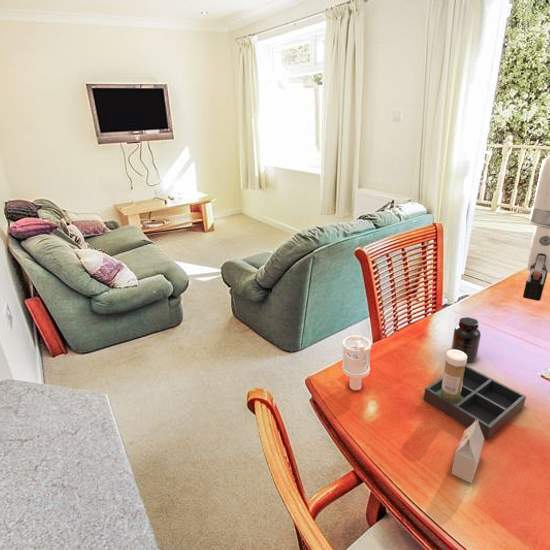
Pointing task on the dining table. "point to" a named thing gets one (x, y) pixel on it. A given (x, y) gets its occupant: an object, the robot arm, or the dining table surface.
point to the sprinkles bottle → (453, 375)
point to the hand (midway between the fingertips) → (533, 290)
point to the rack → (478, 402)
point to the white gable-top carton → (468, 453)
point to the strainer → (356, 360)
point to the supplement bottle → (467, 338)
